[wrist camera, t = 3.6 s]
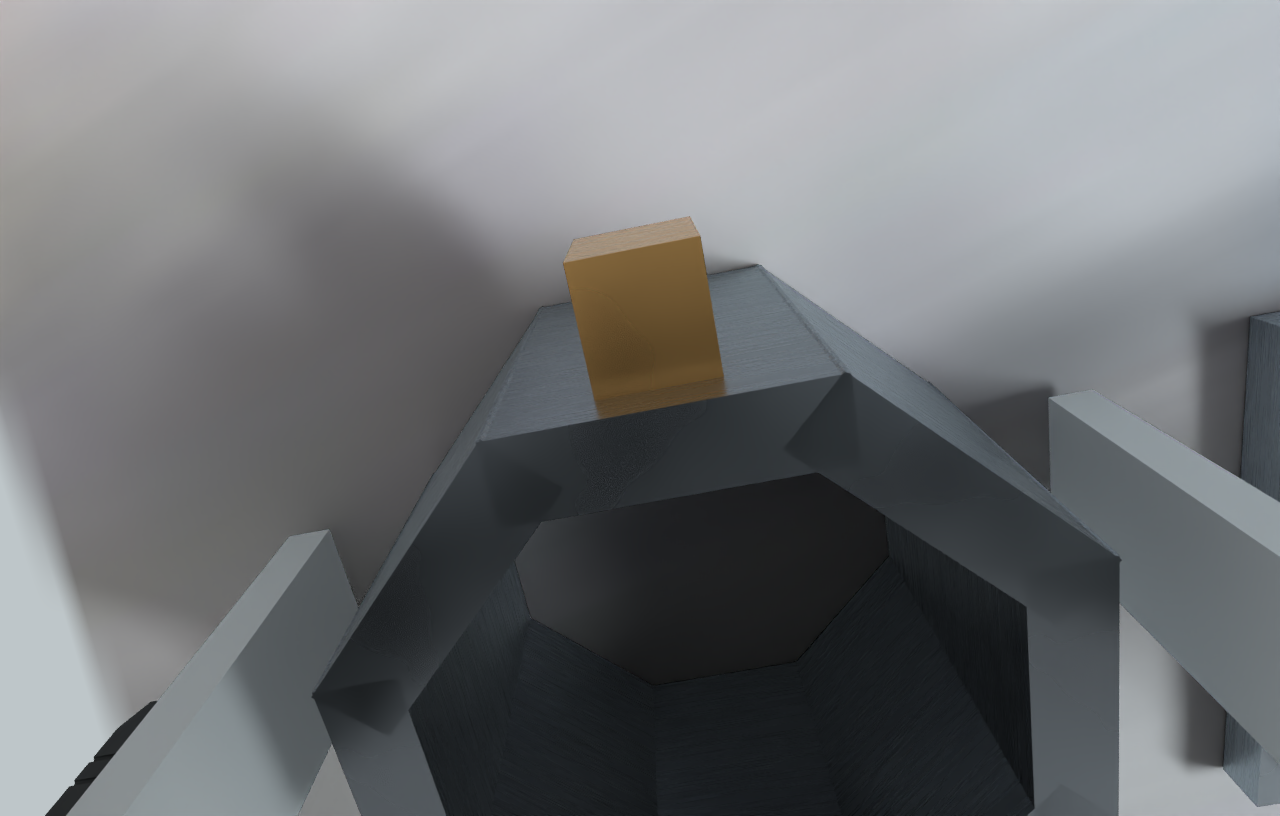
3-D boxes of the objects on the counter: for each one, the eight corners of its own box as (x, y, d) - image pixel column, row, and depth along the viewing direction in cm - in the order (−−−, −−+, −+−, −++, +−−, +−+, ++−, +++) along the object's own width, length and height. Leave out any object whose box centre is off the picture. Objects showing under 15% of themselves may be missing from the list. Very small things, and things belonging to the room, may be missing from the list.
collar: (953, 678, 17) (1119, 971, 11) (517, 749, 17) (459, 1064, 11) (912, 140, 13) (1125, 162, 7) (363, 251, 14) (169, 349, 8)
